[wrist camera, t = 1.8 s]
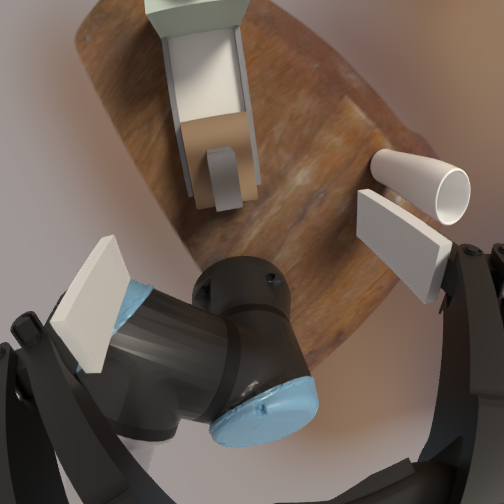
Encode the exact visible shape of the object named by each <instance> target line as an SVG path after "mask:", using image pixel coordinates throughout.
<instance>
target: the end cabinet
mask: <svg viewBox="0 0 504 504" xmlns="http://www.w3.org/2000/svg"><path fill="white" fill-rule="evenodd" d="M250 1H251V0H145V13H146V16H147V17H148V19H149V21H150V22H151V24H152V25H153V27H154V29H155V30H156V32H157V33H158V35H159V37H160V38H163V37H167V39H169V38H174V37H178V36H183V35H189V34H194V33H200V32H207V31H214V30H221V29H230V28H233V27H234V26H237V25H239V27H240V24H241V22H242V19H243V17H244V15H245V12H246V10H247V8H248V5H249V3H250Z"/></svg>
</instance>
